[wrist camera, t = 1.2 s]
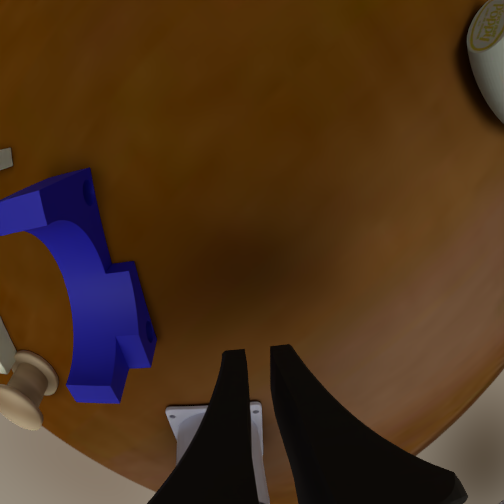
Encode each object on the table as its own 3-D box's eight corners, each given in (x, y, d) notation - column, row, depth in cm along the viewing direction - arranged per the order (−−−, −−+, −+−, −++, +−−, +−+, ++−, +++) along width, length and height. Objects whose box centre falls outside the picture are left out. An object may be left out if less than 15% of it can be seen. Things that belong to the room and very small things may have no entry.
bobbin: (66, 392, 22) (50, 434, 17) (28, 387, 22) (9, 425, 17) (45, 351, 20) (22, 394, 15) (5, 348, 20) (-19, 386, 15)
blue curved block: (157, 338, 21) (144, 403, 15) (100, 341, 20) (76, 401, 15) (114, 161, 16) (68, 182, 10) (49, 177, 15) (-9, 204, 10)
